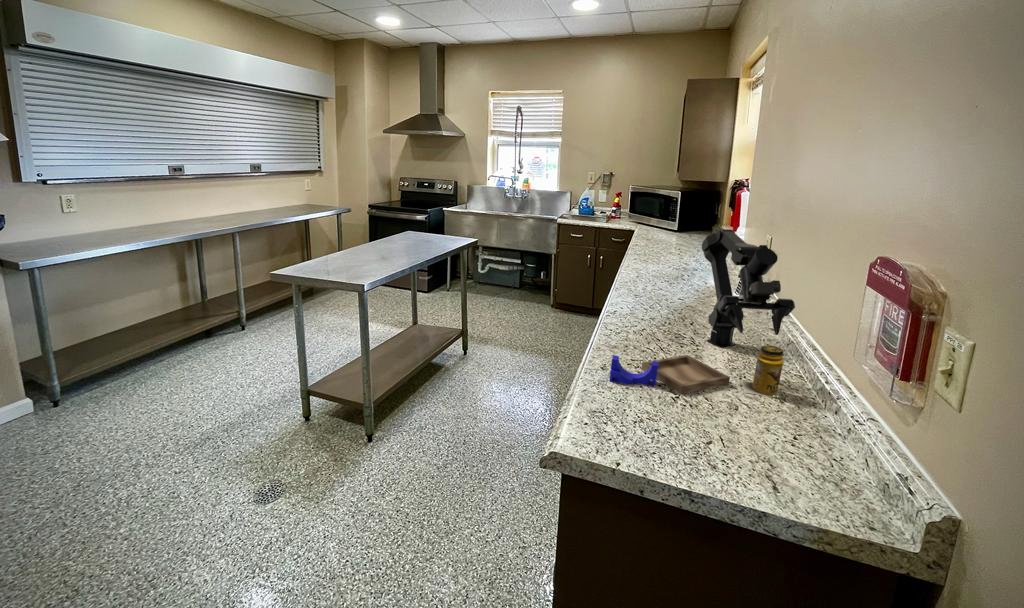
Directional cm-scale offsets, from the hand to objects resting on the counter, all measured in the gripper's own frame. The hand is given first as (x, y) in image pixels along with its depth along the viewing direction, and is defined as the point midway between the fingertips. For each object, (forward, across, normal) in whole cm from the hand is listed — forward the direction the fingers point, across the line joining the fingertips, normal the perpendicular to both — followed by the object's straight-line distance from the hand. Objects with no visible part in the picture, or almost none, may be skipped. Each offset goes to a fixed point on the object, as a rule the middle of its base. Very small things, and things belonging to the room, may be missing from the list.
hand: (759, 333), depth 136 cm
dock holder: (+11, -19, +7) cm, 23 cm away
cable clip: (+15, -33, +4) cm, 37 cm away
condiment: (+15, 0, +4) cm, 15 cm away
